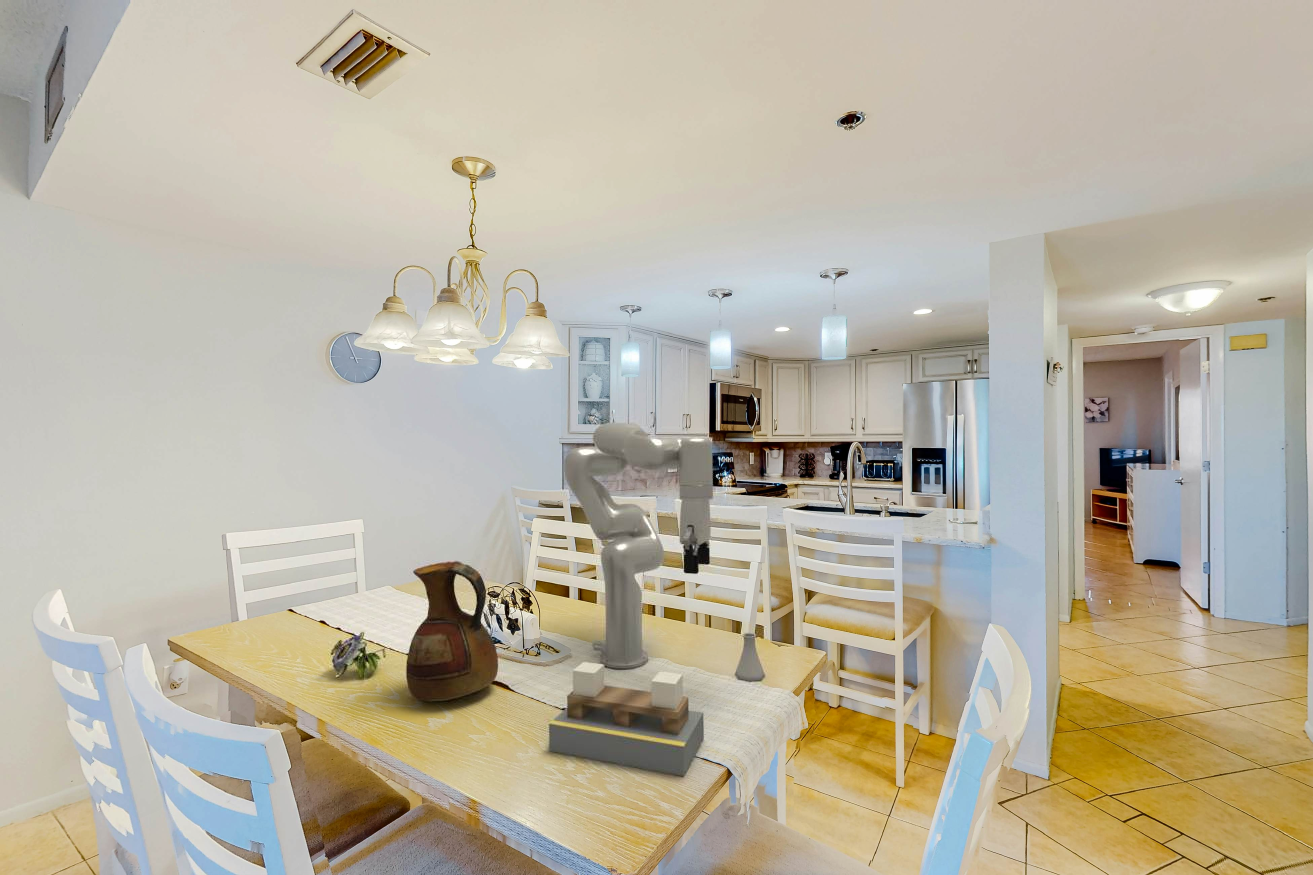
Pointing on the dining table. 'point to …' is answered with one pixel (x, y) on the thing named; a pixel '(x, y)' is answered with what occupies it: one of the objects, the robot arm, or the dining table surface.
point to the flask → (749, 661)
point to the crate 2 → (667, 690)
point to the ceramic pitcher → (450, 639)
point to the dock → (628, 740)
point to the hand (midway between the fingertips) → (697, 568)
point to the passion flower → (354, 656)
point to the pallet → (629, 707)
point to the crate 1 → (588, 679)
